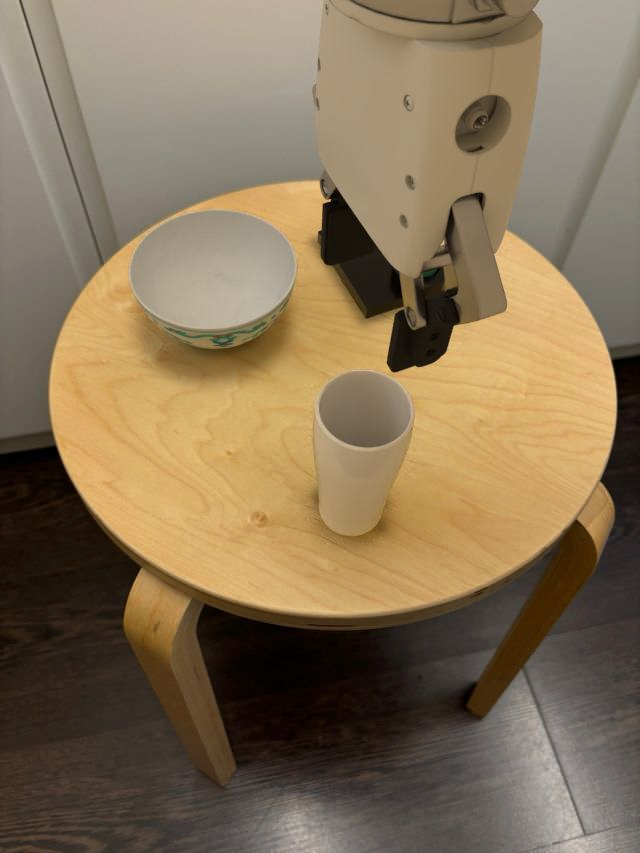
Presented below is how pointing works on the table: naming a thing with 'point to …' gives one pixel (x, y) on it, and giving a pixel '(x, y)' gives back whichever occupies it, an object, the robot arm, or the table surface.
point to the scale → (379, 282)
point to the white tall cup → (359, 446)
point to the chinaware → (213, 276)
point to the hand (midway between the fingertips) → (380, 304)
